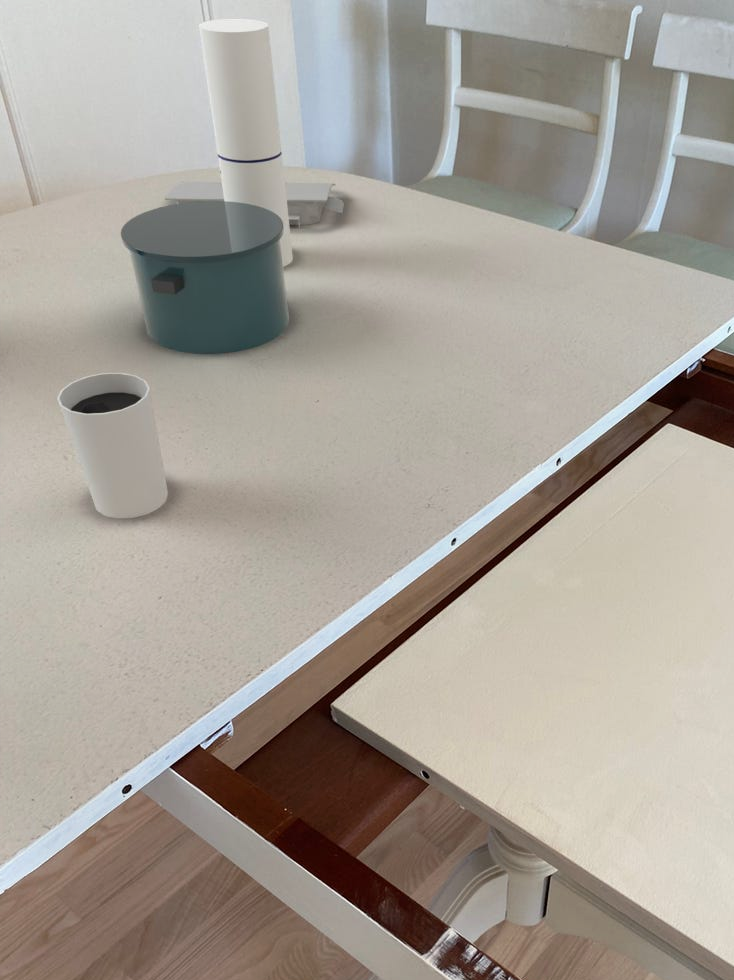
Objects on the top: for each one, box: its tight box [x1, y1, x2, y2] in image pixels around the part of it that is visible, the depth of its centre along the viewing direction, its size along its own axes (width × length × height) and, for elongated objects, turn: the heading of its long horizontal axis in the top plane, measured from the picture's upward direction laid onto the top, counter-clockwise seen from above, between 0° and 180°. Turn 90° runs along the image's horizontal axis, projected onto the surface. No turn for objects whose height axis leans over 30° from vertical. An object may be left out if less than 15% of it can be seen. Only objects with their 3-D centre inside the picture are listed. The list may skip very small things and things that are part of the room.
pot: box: [120, 201, 290, 355], centre depth 101 cm, size 16×19×11 cm
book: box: [164, 181, 345, 230], centre depth 130 cm, size 15×23×4 cm, turn 92°
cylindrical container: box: [198, 18, 294, 268], centre depth 110 cm, size 7×7×25 cm
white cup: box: [56, 372, 169, 520], centre depth 76 cm, size 7×7×10 cm
